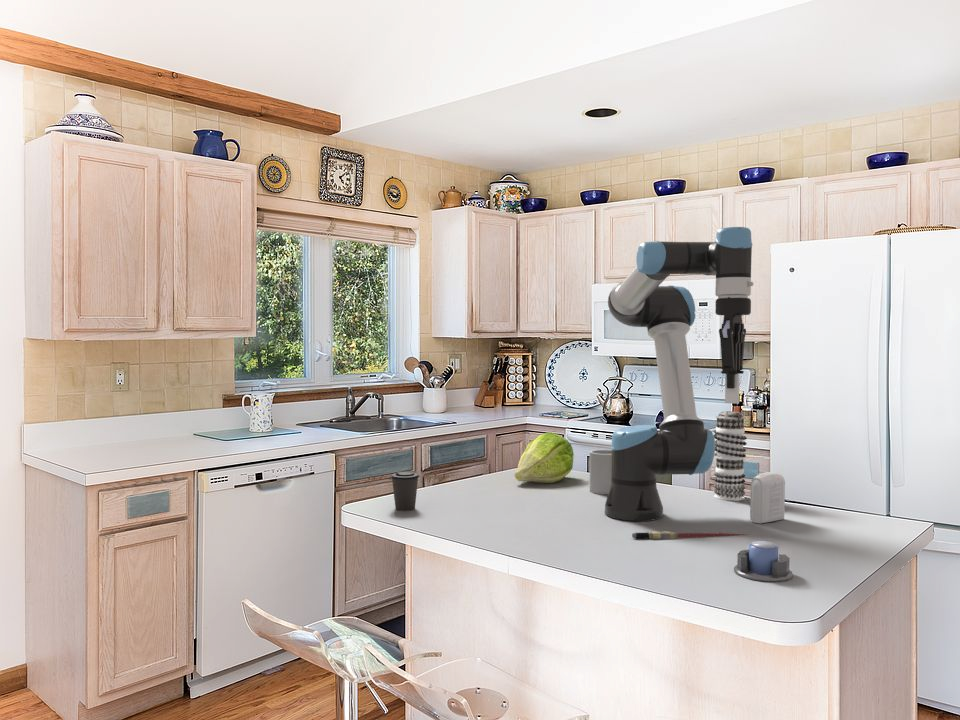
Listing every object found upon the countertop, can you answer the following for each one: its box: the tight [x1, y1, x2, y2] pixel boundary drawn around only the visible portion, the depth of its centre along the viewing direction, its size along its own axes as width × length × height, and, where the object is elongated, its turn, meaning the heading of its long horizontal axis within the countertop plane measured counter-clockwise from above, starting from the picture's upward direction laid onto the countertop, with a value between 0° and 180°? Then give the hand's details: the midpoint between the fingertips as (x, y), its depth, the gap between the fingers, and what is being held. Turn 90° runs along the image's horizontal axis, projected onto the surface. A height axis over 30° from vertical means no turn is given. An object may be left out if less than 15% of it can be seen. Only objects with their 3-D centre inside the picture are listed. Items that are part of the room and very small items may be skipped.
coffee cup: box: [389, 470, 421, 512], centre depth 210 cm, size 8×8×10 cm
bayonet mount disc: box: [733, 548, 794, 583], centre depth 154 cm, size 11×11×4 cm
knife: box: [631, 530, 750, 540], centre depth 182 cm, size 29×2×5 cm
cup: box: [589, 449, 612, 495], centre depth 232 cm, size 9×9×12 cm
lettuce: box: [514, 431, 575, 484], centre depth 249 cm, size 15×25×16 cm
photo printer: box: [749, 471, 786, 524], centre depth 196 cm, size 10×4×12 cm, turn 123°
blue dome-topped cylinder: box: [748, 540, 779, 575], centre depth 153 cm, size 6×6×5 cm
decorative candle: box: [713, 410, 748, 502], centre depth 223 cm, size 9×9×25 cm
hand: (732, 402), depth 172 cm, fingers closed
